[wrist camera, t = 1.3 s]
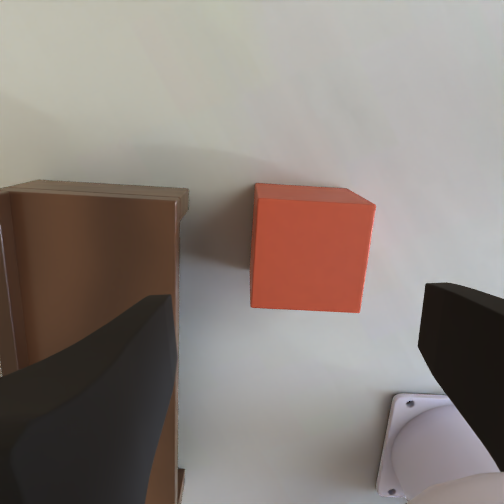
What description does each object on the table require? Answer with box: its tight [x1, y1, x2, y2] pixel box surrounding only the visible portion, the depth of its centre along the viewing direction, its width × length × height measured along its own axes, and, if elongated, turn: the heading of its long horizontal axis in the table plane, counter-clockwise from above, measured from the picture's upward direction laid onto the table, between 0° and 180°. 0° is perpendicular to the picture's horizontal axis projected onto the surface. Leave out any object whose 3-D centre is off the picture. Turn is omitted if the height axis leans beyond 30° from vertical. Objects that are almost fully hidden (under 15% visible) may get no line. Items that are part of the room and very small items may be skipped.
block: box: [250, 183, 376, 313], centre depth 20 cm, size 5×5×5 cm
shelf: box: [0, 180, 189, 504], centre depth 22 cm, size 8×20×5 cm, turn 177°
